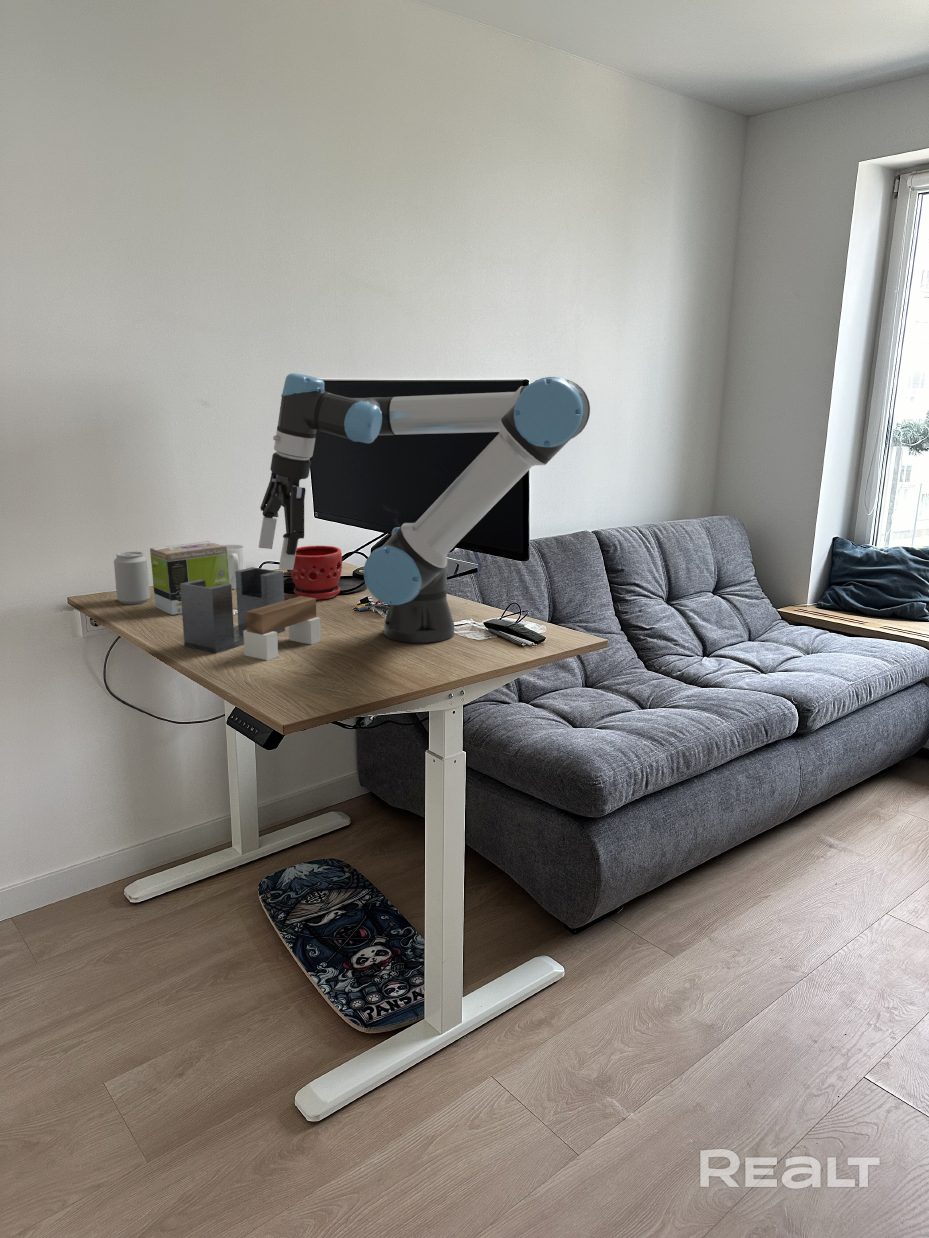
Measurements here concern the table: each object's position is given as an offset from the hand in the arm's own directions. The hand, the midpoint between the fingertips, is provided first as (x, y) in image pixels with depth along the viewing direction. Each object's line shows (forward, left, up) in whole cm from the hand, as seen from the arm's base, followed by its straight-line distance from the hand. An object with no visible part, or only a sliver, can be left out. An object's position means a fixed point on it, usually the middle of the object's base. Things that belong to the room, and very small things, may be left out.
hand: (275, 558), depth 177 cm
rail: (-5, +3, -12) cm, 14 cm away
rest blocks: (-5, +3, -17) cm, 18 cm away
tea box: (+36, -11, -18) cm, 42 cm away
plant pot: (+19, -36, -18) cm, 44 cm away
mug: (+43, -31, -18) cm, 56 cm away
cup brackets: (+8, +3, -17) cm, 20 cm away
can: (+52, -7, -18) cm, 56 cm away
